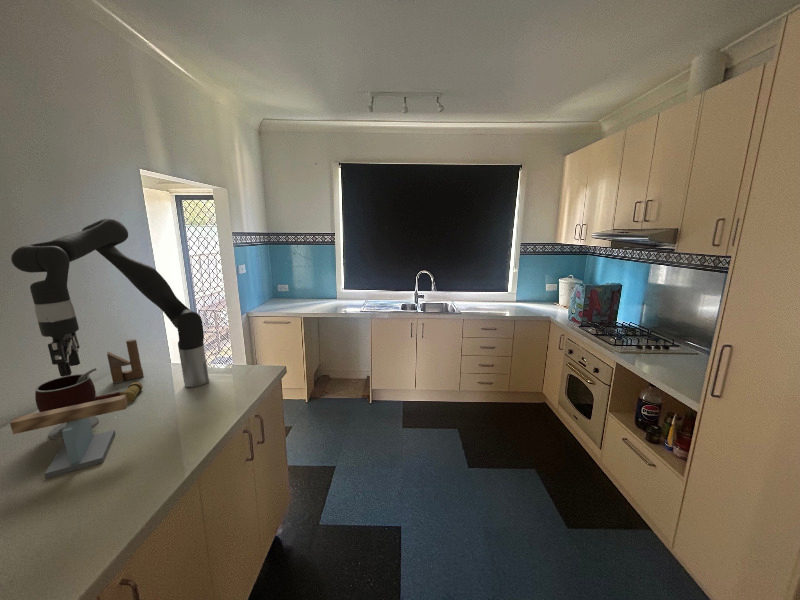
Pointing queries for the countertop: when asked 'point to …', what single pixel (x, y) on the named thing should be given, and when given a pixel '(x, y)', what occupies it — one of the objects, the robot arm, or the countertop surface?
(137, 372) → the wooden block
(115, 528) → the countertop surface
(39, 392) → the mate gourd
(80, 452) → the stand
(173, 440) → the countertop surface
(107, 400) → the light wood bar
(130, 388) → the gavel
